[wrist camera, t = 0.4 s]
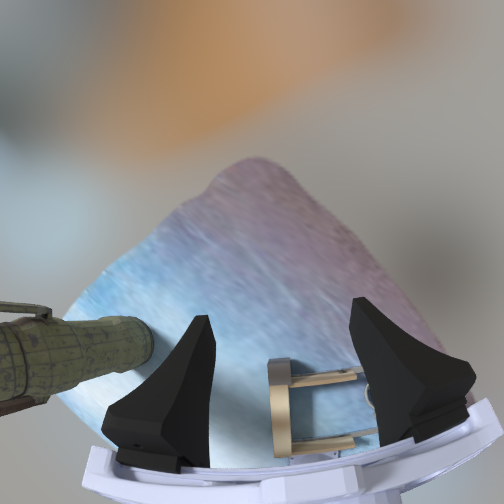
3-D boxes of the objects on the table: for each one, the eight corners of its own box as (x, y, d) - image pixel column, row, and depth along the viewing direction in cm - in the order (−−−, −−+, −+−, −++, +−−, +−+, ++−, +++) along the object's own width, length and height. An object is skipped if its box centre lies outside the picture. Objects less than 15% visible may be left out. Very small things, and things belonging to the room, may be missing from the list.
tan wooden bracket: (351, 437, 34) (355, 448, 30) (275, 446, 35) (274, 457, 31) (350, 349, 36) (356, 354, 33) (269, 358, 38) (267, 364, 34)
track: (411, 422, 33) (412, 423, 33) (276, 445, 36) (275, 446, 35) (414, 354, 35) (415, 354, 35) (271, 376, 38) (270, 376, 38)
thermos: (111, 368, 41) (-61, 404, 7) (113, 304, 43) (-74, 285, 9) (153, 379, 40) (-30, 452, 6) (156, 311, 42) (-57, 303, 8)
